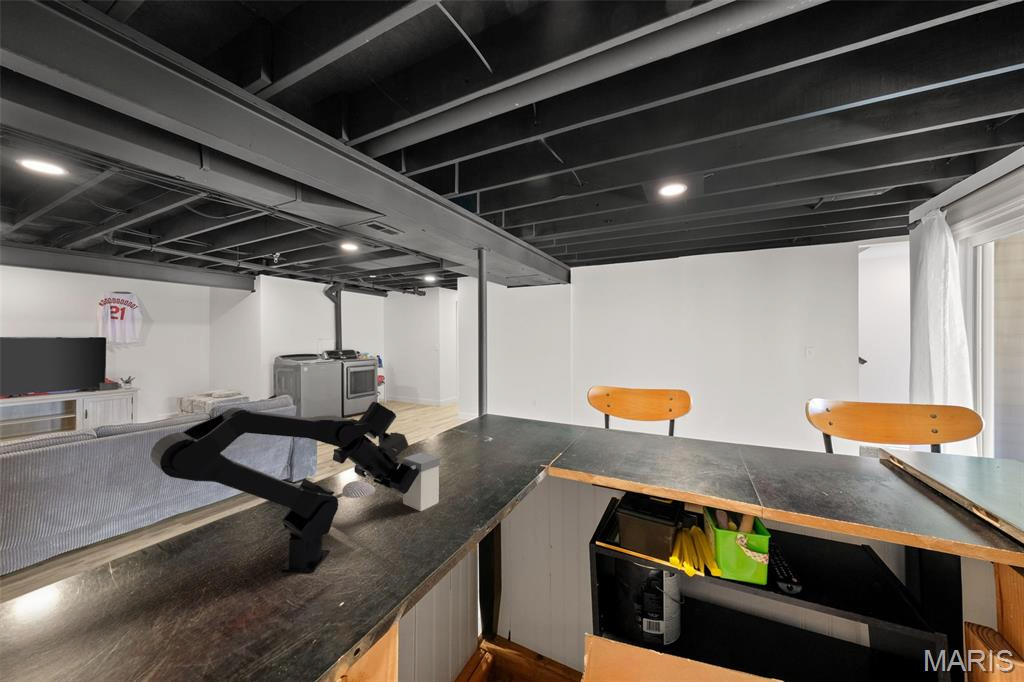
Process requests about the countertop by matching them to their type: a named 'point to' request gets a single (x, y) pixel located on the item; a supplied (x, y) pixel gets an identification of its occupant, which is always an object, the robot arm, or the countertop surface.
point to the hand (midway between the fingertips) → (405, 486)
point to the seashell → (357, 489)
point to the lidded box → (423, 482)
